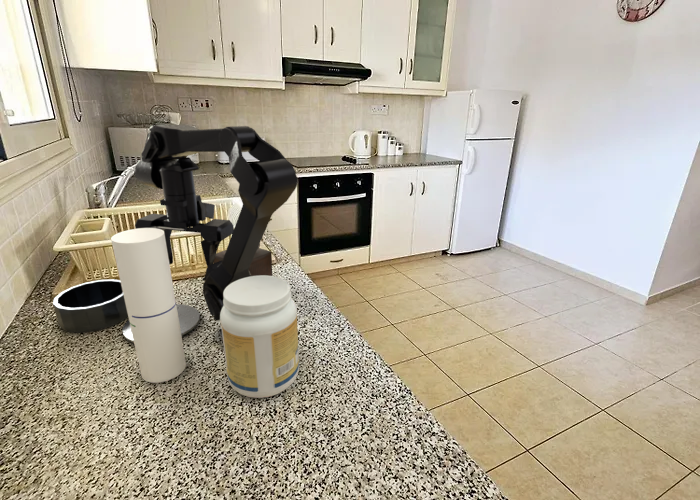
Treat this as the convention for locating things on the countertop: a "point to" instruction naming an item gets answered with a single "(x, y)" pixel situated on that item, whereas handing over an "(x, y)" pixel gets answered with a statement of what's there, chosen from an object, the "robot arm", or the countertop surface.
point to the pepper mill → (255, 262)
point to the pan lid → (186, 320)
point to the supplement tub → (260, 335)
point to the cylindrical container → (150, 302)
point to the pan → (91, 306)
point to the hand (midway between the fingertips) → (190, 265)
